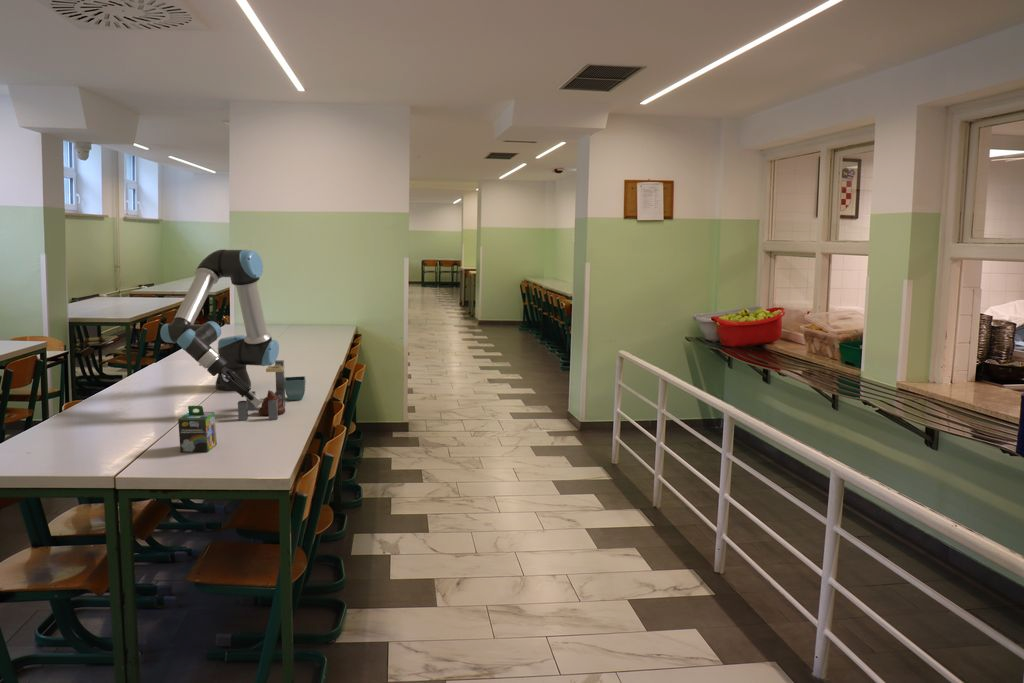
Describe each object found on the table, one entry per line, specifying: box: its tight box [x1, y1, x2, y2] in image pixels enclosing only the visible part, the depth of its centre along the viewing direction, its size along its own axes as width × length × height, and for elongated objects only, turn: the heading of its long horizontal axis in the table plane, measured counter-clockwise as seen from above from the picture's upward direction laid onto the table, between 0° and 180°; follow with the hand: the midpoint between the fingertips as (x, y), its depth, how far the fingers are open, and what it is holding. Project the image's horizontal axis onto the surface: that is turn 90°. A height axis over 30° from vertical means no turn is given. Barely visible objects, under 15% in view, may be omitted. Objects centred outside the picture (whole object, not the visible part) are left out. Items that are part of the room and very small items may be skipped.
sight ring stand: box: [265, 359, 286, 409], centre depth 317 cm, size 6×16×19 cm, turn 8°
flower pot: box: [284, 375, 307, 401], centre depth 339 cm, size 9×9×9 cm
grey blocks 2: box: [268, 390, 284, 421], centre depth 313 cm, size 3×20×7 cm, turn 8°
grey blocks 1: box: [237, 390, 257, 422], centre depth 312 cm, size 3×20×7 cm, turn 8°
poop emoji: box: [258, 389, 286, 417], centre depth 313 cm, size 10×8×9 cm
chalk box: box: [177, 405, 218, 453], centre depth 264 cm, size 9×9×15 cm
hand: (259, 404), depth 312 cm, fingers closed
